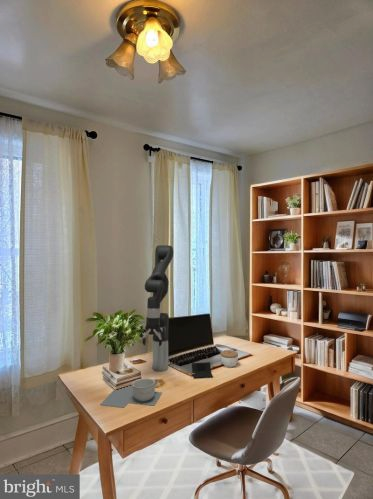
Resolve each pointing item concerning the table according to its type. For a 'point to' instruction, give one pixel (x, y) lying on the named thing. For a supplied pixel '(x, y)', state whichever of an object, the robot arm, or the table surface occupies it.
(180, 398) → the table surface
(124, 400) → the t mat
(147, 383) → the teacup
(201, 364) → the handheld gaming console
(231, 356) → the lidded jar
